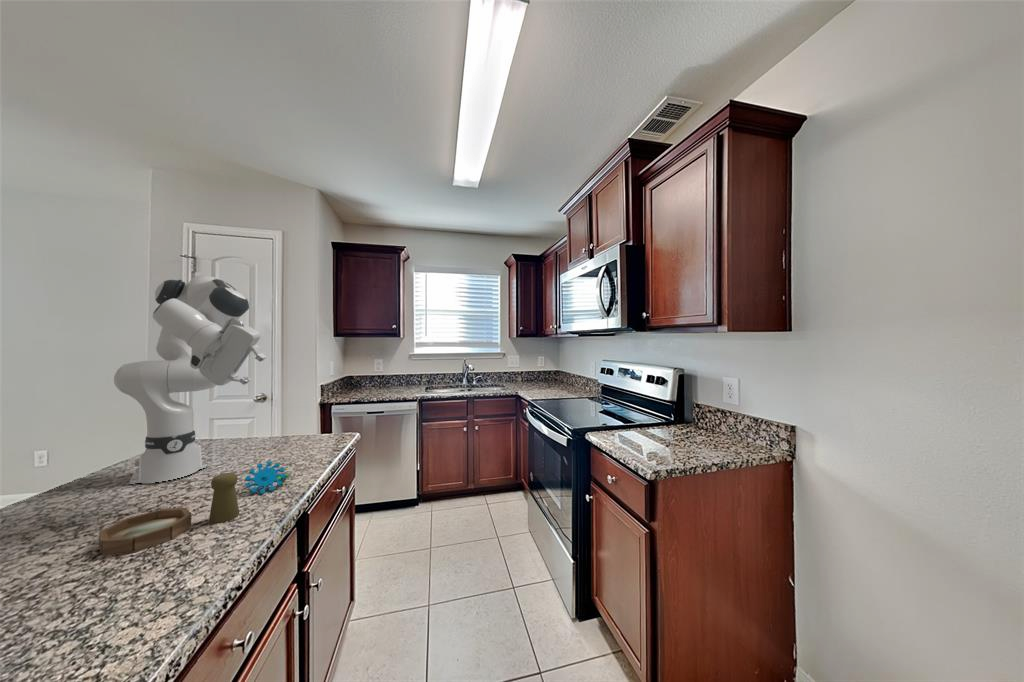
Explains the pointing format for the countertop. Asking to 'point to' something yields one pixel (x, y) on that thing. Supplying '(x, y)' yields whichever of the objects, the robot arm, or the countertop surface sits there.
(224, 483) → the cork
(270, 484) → the gear
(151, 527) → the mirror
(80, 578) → the countertop surface
